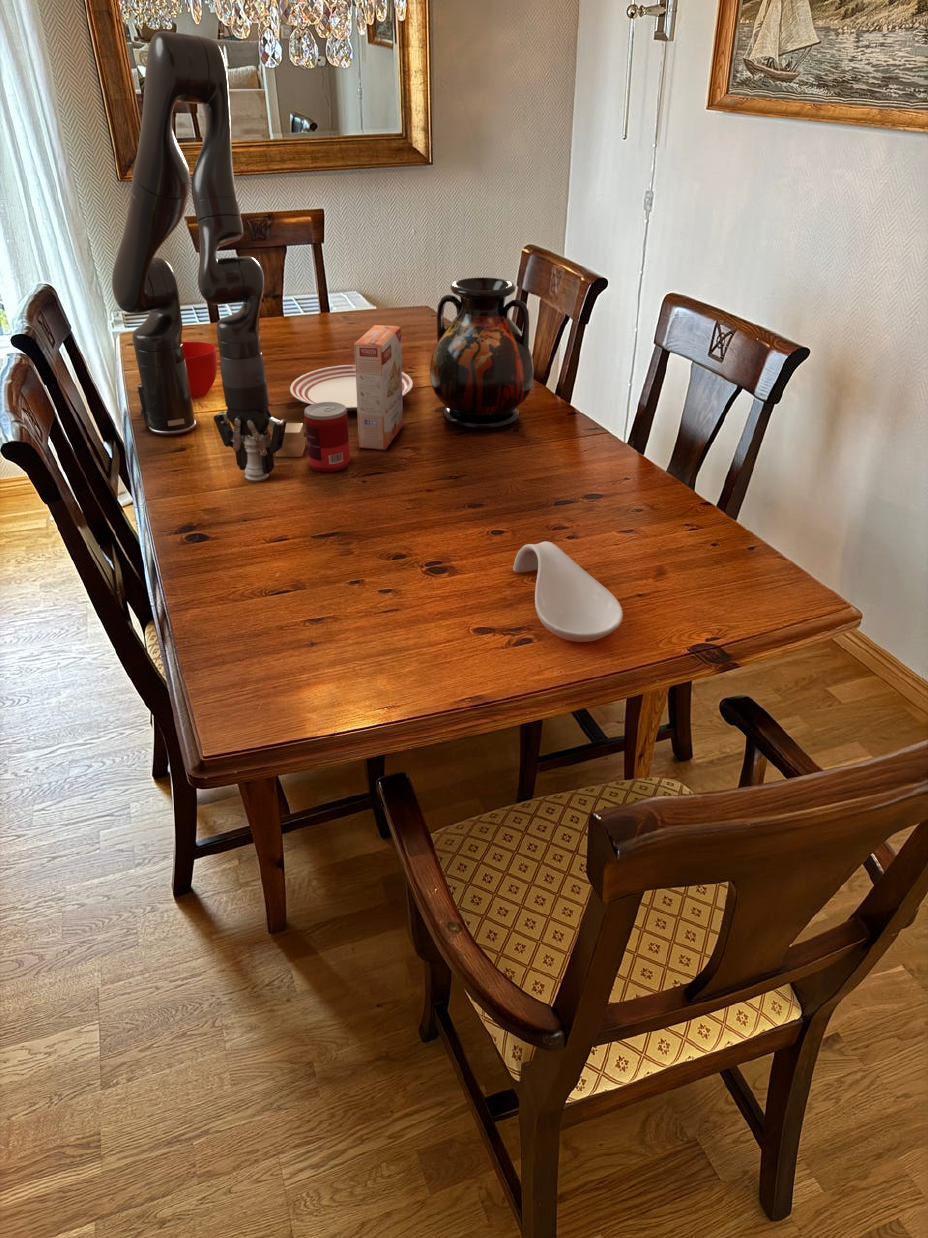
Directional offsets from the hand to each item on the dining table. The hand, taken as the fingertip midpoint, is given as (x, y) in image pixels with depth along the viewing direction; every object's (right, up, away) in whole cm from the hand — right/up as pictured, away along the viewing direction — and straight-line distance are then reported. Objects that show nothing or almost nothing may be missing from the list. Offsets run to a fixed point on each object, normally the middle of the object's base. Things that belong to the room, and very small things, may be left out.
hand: (256, 469), depth 165 cm
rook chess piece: (0, -1, +1) cm, 2 cm away
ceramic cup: (-23, +25, +41) cm, 54 cm away
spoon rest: (+52, -26, -37) cm, 69 cm away
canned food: (+13, +2, +6) cm, 14 cm away
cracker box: (+22, +9, +18) cm, 30 cm away
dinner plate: (+13, +23, +38) cm, 46 cm away
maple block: (+4, +5, +11) cm, 13 cm away
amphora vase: (+42, +15, +26) cm, 52 cm away
